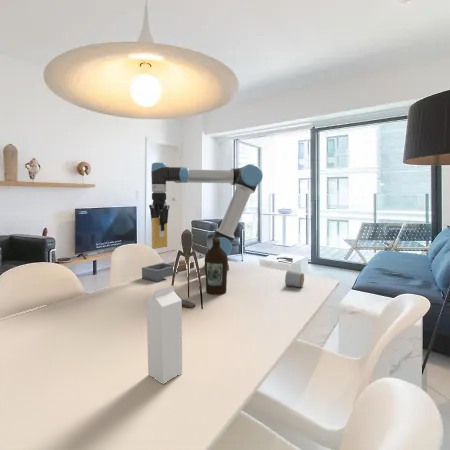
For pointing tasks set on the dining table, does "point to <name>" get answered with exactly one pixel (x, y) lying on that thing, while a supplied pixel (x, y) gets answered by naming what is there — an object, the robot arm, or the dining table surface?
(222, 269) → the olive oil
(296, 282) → the grey cylinder
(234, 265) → the dining table surface
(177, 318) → the milk
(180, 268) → the dispenser
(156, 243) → the yellow rectangular slab
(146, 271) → the bin
